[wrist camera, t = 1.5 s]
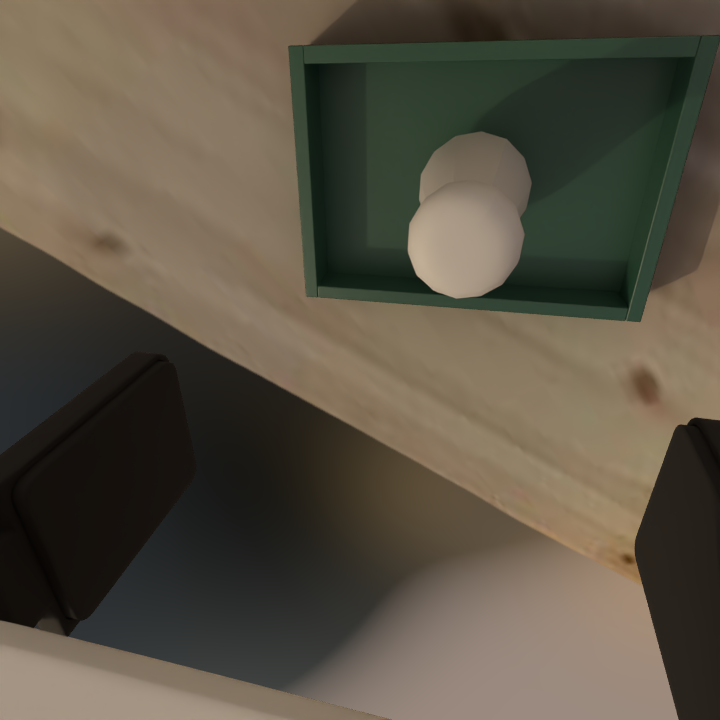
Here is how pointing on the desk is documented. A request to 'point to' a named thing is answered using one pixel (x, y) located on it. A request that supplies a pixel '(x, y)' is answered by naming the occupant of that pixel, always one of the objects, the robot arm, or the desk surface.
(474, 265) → the salt shaker
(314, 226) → the tray
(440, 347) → the desk surface
